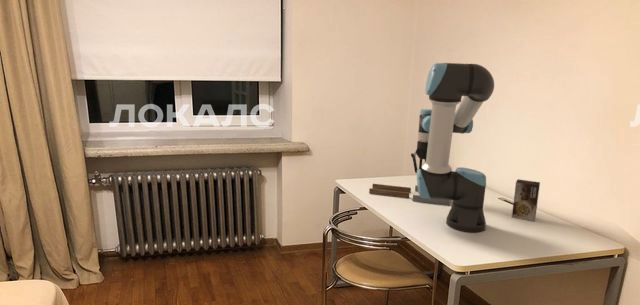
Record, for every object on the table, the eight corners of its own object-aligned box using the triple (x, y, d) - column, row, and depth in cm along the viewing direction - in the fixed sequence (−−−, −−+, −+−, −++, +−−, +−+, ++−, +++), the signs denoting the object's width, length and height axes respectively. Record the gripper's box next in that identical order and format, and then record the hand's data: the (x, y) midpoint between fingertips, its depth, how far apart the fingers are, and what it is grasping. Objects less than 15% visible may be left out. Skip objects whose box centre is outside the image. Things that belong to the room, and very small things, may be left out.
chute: (408, 198, 193) (409, 193, 192) (369, 193, 198) (369, 188, 198) (410, 192, 203) (411, 187, 202) (372, 188, 209) (372, 183, 208)
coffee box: (535, 217, 171) (540, 182, 167) (534, 221, 165) (539, 185, 162) (512, 213, 175) (517, 178, 172) (511, 217, 170) (515, 181, 167)
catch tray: (449, 205, 183) (449, 199, 183) (412, 201, 188) (412, 195, 188) (448, 194, 201) (449, 188, 201) (415, 190, 206) (415, 185, 206)
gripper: (439, 140, 192) (434, 186, 197) (412, 138, 196) (408, 183, 201) (439, 143, 185) (434, 190, 190) (411, 140, 189) (407, 187, 194)
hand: (421, 186), depth 195 cm, fingers closed
